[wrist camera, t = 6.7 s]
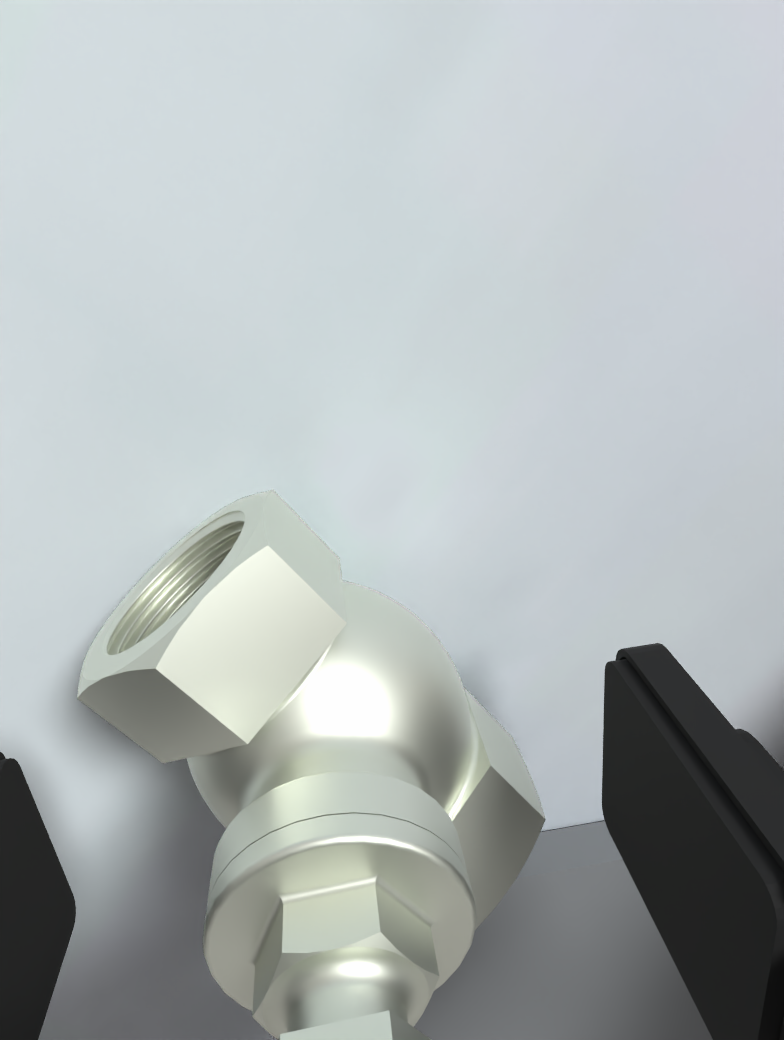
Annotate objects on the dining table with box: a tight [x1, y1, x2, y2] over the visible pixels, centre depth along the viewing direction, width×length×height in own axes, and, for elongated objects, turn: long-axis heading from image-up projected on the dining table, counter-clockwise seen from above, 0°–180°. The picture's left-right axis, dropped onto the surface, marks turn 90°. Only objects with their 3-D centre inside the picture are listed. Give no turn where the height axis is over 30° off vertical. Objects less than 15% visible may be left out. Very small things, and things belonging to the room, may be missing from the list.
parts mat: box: [414, 821, 713, 1040], centre depth 17 cm, size 10×10×1 cm
